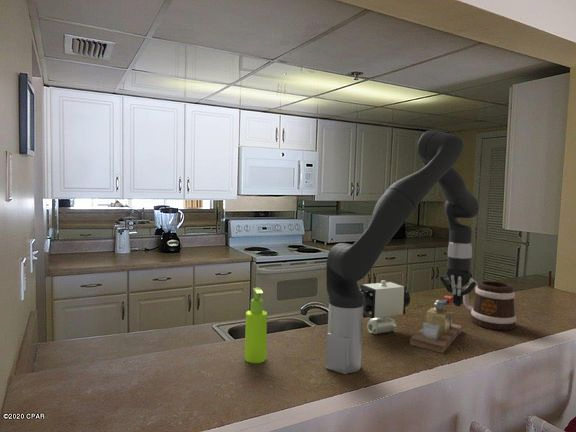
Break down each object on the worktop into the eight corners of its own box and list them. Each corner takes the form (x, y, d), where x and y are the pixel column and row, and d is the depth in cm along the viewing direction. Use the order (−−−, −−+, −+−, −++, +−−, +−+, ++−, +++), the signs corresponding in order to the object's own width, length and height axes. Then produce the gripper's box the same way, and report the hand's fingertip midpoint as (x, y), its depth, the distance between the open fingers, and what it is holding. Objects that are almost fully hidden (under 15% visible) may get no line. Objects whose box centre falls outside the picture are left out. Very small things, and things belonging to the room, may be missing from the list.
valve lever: (441, 312, 130) (442, 302, 130) (432, 310, 132) (433, 300, 132) (453, 303, 141) (453, 294, 141) (445, 302, 143) (445, 293, 143)
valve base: (442, 353, 120) (443, 346, 120) (409, 344, 126) (410, 338, 126) (461, 331, 140) (461, 325, 140) (432, 324, 146) (432, 319, 146)
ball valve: (392, 324, 145) (395, 275, 144) (409, 332, 137) (411, 281, 136) (350, 330, 137) (352, 279, 136) (365, 339, 130) (367, 284, 128)
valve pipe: (439, 341, 124) (440, 319, 123) (419, 337, 127) (420, 315, 127) (453, 326, 138) (454, 306, 138) (435, 322, 142) (436, 303, 141)
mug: (524, 327, 146) (527, 286, 145) (501, 334, 138) (503, 291, 137) (474, 312, 163) (476, 275, 162) (450, 317, 155) (452, 279, 154)
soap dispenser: (247, 365, 108) (249, 292, 107) (243, 355, 115) (244, 285, 113) (268, 363, 109) (270, 291, 108) (263, 353, 116) (265, 285, 115)
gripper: (484, 257, 135) (482, 308, 136) (446, 252, 145) (444, 299, 146) (474, 259, 130) (472, 312, 131) (435, 254, 140) (434, 303, 141)
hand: (457, 305), depth 139 cm, fingers closed
